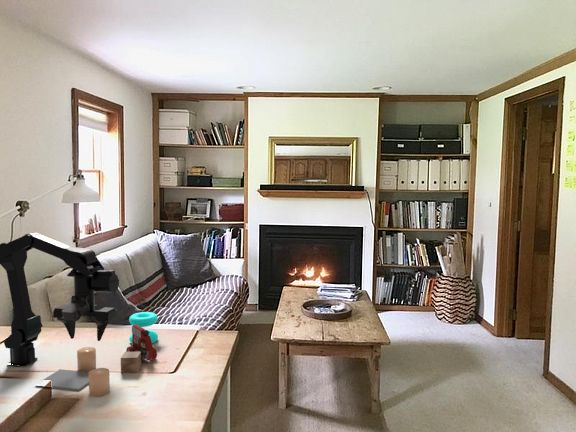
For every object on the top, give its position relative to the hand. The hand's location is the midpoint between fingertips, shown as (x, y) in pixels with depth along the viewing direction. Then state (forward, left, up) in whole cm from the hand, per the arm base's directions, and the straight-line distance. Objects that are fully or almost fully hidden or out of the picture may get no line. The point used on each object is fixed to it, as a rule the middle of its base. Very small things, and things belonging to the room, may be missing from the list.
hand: (85, 339), depth 151 cm
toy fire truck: (+13, +11, -10) cm, 20 cm away
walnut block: (+14, +2, -10) cm, 17 cm away
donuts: (+6, +26, -10) cm, 28 cm away
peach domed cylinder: (0, 0, -9) cm, 9 cm away
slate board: (0, -9, -9) cm, 13 cm away
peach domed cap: (+13, -14, -9) cm, 21 cm away
